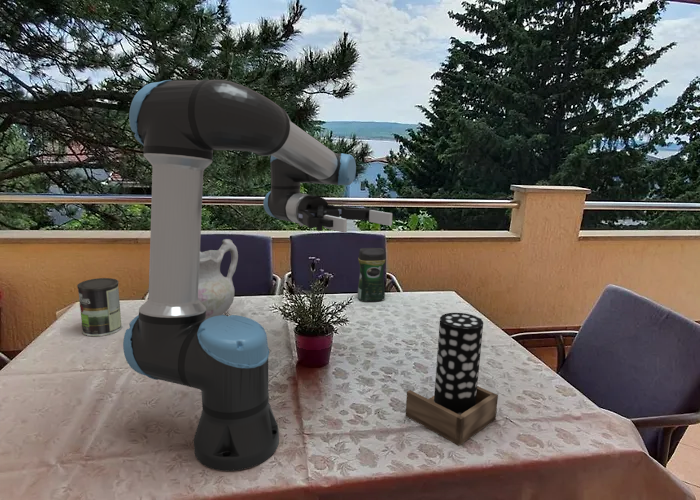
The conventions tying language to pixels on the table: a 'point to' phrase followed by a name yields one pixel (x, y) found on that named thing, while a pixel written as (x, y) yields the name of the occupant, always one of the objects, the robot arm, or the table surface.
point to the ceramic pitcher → (216, 280)
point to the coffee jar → (371, 274)
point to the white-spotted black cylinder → (458, 361)
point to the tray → (453, 415)
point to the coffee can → (99, 306)
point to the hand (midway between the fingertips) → (369, 222)
